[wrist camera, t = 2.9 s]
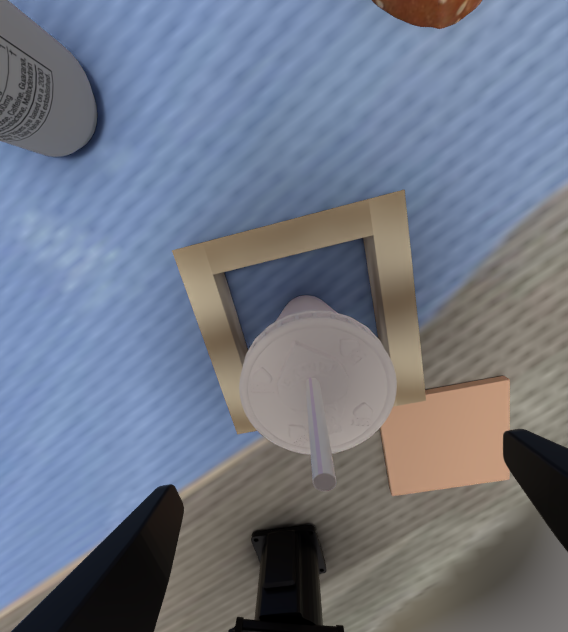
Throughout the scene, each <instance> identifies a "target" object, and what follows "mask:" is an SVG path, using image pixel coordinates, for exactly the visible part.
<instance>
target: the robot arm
mask: <svg viewBox="0 0 568 632" xmlns="http://www.w3.org/2000/svg"><path fill="white" fill-rule="evenodd" d="M503 459H504V462H505V464H506V466H507V467H508V469H509V470H510V472H511V473H512V474H513V476H514V477H515V479H516V480H517V482H518V483H519V485H520V486H521V488H522V489H523V490H524V492H525V493H526V495H527V496H528V498H529V499H530V501H531V502H532V503H533V505H534V506H535V508H536V509H537V511H538V512H539V514H540V515H541V517H542V518H543V519H544V521H545V522H546V524H547V525H548V526H549V528H550V529H551V531H552V532H553V533H554V535H555V536H556V537H557V539H558V540H559V541H560V543H561V544H562V545H563V546H564V548H565V549H566V550H567V551H568V448H566V447H564V446H561V445H559V444H557V443H554V442H552V441H550V440H548V439H545V438H543V437H541V436H539V435H536V434H534V433H532V432H530V431H527V430H524V429H515V430H509V431H505V432H504V433H503ZM183 514H184V506H183V502H182V500H181V498H180V496H179V494H178V492H177V490H176V488H175V486H174V485H172V484H169V485H163V486H159V487H158V488H156V489H155V490H154V491H153V492H152V493H151V494H150V495H149V496H148V497H147V498H146V499H145V500H144V501H143V502H142V503H141V504H140V505H139V506H138V507H137V508H136V509H135V510H134V511H133V512H132V513H131V514H130V515H129V516H128V517H127V518H126V519H125V520H124V521H123V522H122V523H121V524H120V525H119V526H118V527H117V528H116V529H115V530H114V531H113V532H112V533H111V534H110V535H109V536H108V537H107V538H106V539H105V540H104V541H103V542H101V543H100V544H99V545H98V546H97V547H96V548H95V549H94V550H93V551H92V552H91V553H90V554H89V555H88V556H87V557H86V558H85V559H84V560H83V561H82V562H81V563H80V564H79V565H78V566H77V567H76V568H75V569H74V570H73V571H72V572H71V573H70V574H69V575H68V576H67V577H66V578H65V579H64V580H63V581H62V582H61V583H60V584H59V585H58V586H57V587H56V588H55V589H54V590H53V591H52V592H51V593H50V594H49V595H48V596H47V597H46V598H45V599H44V600H43V601H42V602H41V603H40V604H39V605H38V606H37V607H36V608H35V609H34V610H33V611H32V612H31V613H30V614H29V615H27V616H26V617H25V618H24V619H23V620H22V621H21V622H20V623H19V624H18V625H17V626H16V627H15V628H14V629H13V630H12V631H11V632H154V629H155V626H156V622H157V619H158V616H159V612H160V609H161V606H162V602H163V599H164V596H165V592H166V589H167V585H168V582H169V577H170V573H171V569H172V565H173V560H174V555H175V551H176V546H177V542H178V537H179V532H180V528H181V523H182V519H183ZM251 541H252V544H253V546H254V549H255V551H256V554H257V556H258V559H259V561H260V572H259V582H258V592H257V602H256V611H255V620H249V619H244V617H237V620H236V626H235V627H234V628H232V629H230V630H229V632H344V628H343V625H336V627H335V626H323V620H322V607H321V593H320V580H319V574H322V573H325V572H326V564H325V560H324V557H323V553H322V550H321V546H320V543H319V539H318V536H317V533H316V529H315V527H314V526H313V525H305V526H298V527H291V528H283V529H276V530H268V531H261V532H255V533H253V534H252V538H251Z"/></svg>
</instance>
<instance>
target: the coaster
mask: <svg viewBox="0 0 568 632" xmlns="http://www.w3.org/2000/svg"><path fill="white" fill-rule="evenodd" d="M425 395H426V401H422V402H416V403H410V404H405V405H399V406H393V408H392V410H391V412H390V414H389V416H388V418H387V419H386V421H385V422H384V424H383V425H382V426H381V427H380V433H381V439H382V445H383V451H384V457H385V463H386V469H387V475H388V481H389V487H390V491H391V494H392V496H396V495H403V494H410V493H418V492H425V491H432V490H439V489H446V488H453V487H460V486H467V485H474V484H481V483H488V482H495V481H502V480H509V469H508V467H507V466H506V464H505V462H504V459H503V433H504V432H505V431H509V430H510V380H509V379H508V378H506V377H505V376H499V377H494V378H488V379H483V380H477V381H472V382H466V383H461V384H455V385H450V386H444V387H439V388H433V389H428V390H425Z"/></svg>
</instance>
